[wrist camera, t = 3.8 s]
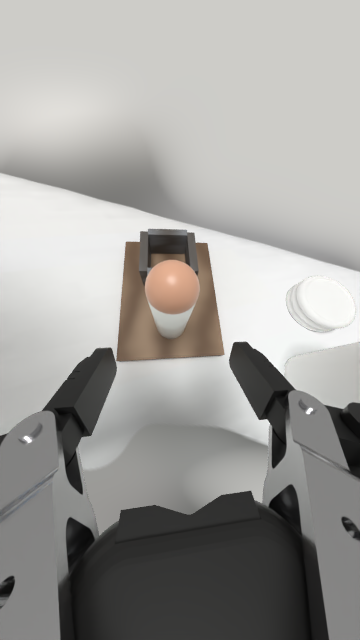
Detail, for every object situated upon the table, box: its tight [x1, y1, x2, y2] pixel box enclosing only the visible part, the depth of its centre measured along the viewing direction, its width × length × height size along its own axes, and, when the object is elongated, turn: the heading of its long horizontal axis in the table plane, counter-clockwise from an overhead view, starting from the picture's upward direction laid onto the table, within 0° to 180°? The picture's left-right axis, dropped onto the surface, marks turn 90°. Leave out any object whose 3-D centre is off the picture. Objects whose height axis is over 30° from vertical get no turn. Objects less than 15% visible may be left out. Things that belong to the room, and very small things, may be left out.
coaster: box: [286, 276, 356, 332], centre depth 24 cm, size 10×10×4 cm
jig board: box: [116, 229, 224, 361], centre depth 22 cm, size 16×22×5 cm
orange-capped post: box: [145, 260, 200, 339], centre depth 15 cm, size 4×4×13 cm
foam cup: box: [284, 342, 360, 409], centre depth 16 cm, size 10×9×13 cm
